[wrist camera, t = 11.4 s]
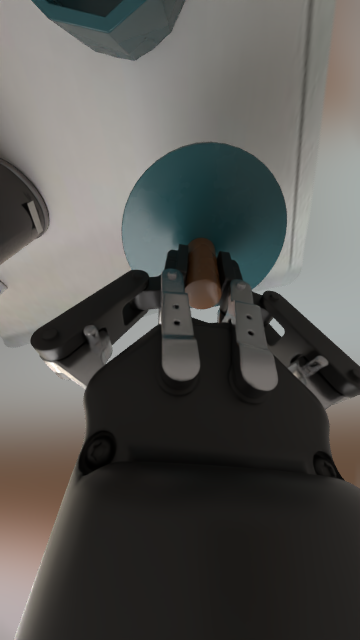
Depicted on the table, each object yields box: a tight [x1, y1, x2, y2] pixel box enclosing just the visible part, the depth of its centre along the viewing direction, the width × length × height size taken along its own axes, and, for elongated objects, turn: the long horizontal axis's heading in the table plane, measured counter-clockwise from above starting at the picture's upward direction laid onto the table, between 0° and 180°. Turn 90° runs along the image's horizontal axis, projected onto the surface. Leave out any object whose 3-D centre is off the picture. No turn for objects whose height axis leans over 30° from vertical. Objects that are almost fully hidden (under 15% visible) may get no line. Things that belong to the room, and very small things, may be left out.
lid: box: [122, 142, 287, 309], centre depth 13 cm, size 13×13×7 cm
